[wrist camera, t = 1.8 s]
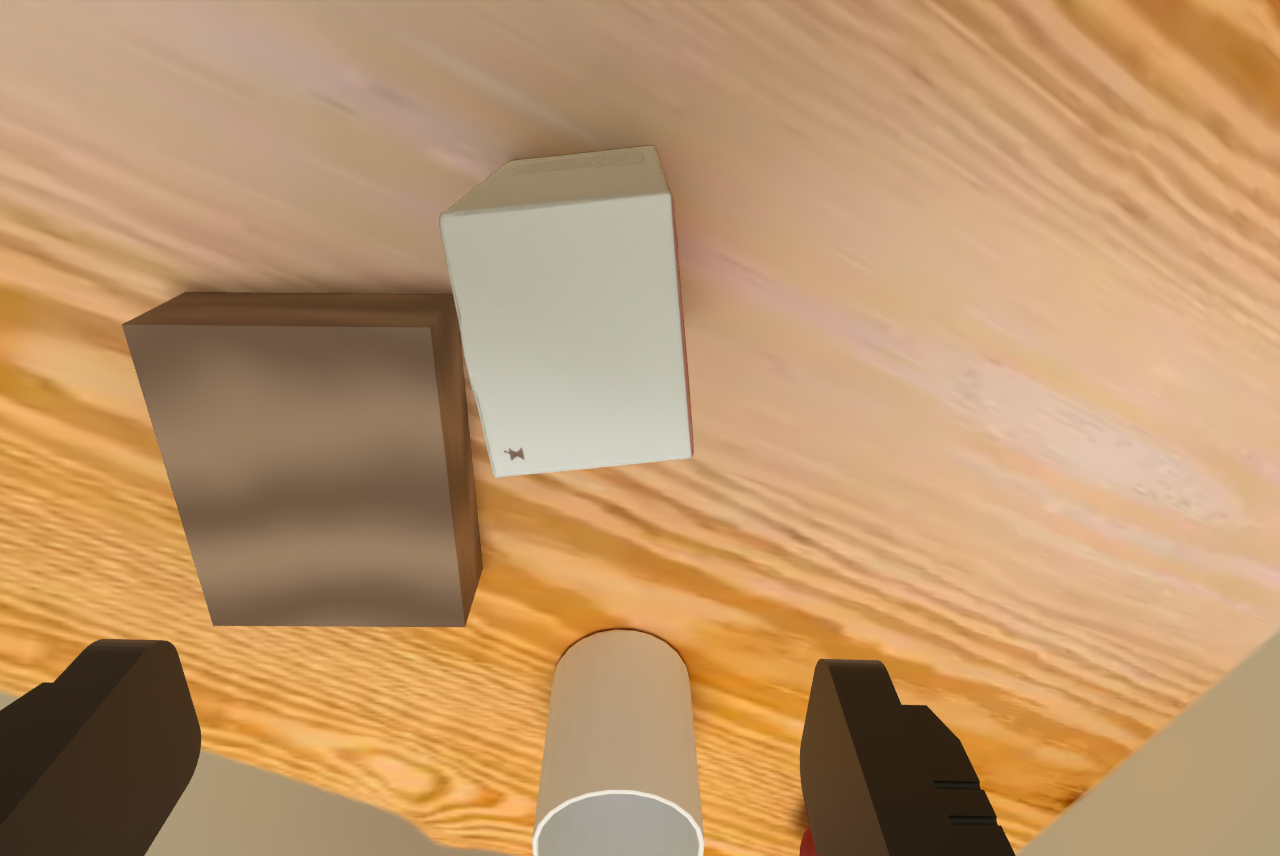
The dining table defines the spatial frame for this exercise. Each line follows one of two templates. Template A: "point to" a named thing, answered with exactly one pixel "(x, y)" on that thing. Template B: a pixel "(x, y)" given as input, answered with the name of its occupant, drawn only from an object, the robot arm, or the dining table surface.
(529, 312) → the small box
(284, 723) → the dining table surface
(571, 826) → the mug
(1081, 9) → the dining table surface
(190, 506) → the walnut block
